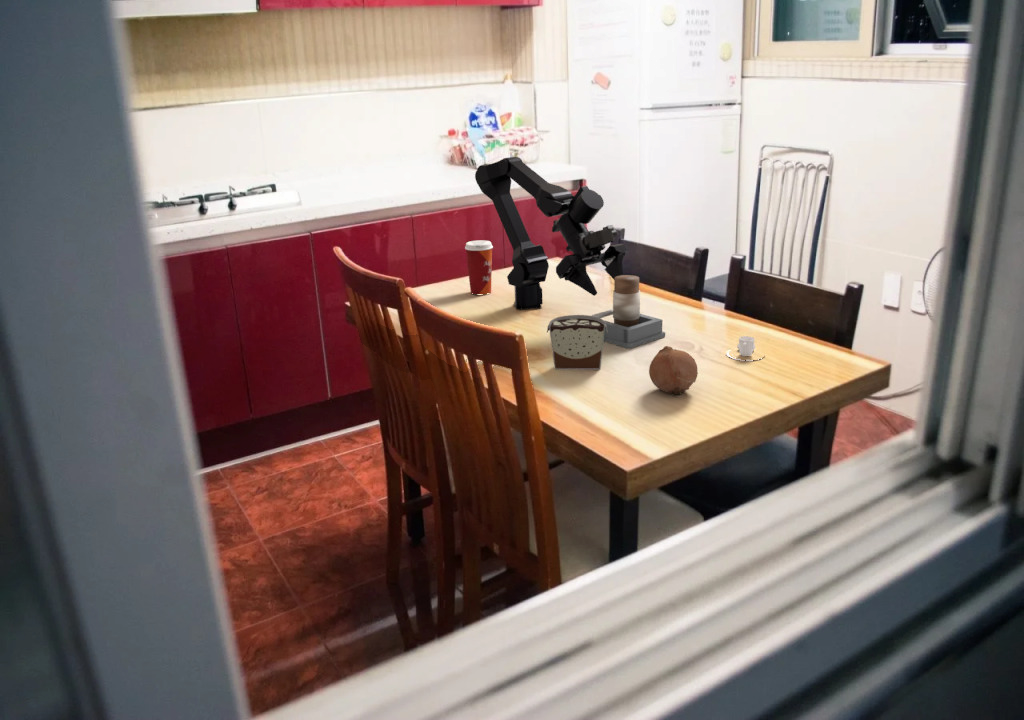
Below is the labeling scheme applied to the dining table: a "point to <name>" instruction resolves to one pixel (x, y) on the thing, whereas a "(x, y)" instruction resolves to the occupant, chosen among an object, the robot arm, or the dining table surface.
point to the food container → (577, 341)
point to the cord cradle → (632, 331)
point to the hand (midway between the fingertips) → (610, 290)
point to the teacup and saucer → (744, 347)
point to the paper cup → (479, 266)
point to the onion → (673, 370)
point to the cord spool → (626, 300)
